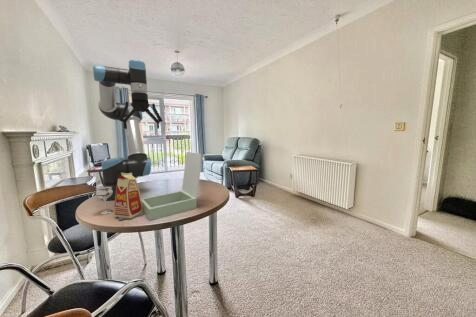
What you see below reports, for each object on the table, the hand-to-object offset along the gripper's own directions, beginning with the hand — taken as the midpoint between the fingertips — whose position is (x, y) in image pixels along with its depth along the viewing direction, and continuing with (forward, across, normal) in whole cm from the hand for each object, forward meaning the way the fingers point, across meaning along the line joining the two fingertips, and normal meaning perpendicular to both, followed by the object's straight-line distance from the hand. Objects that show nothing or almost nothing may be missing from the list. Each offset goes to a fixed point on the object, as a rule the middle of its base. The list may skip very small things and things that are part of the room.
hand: (142, 135), depth 103 cm
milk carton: (+36, -11, -11) cm, 39 cm away
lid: (+21, +19, -15) cm, 32 cm away
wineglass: (+37, -19, 0) cm, 42 cm away
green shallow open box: (+37, +6, -15) cm, 40 cm away
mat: (+37, -10, -11) cm, 40 cm away
